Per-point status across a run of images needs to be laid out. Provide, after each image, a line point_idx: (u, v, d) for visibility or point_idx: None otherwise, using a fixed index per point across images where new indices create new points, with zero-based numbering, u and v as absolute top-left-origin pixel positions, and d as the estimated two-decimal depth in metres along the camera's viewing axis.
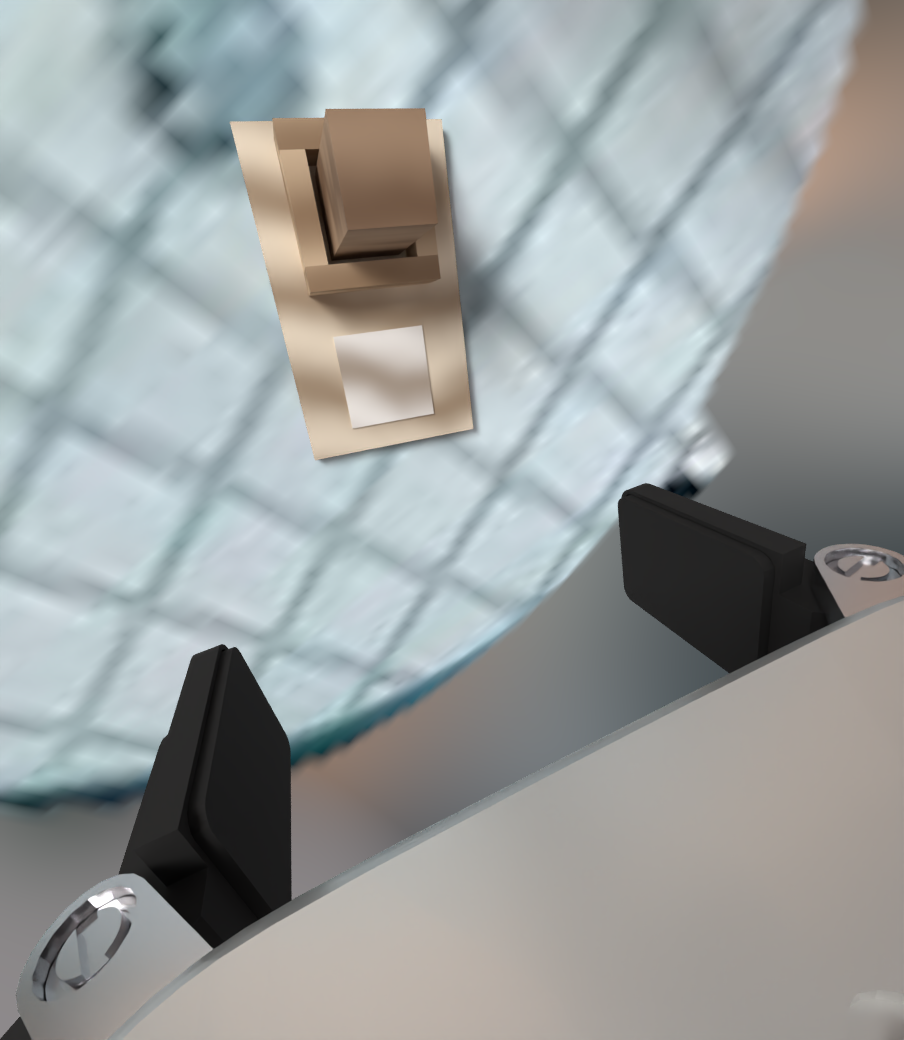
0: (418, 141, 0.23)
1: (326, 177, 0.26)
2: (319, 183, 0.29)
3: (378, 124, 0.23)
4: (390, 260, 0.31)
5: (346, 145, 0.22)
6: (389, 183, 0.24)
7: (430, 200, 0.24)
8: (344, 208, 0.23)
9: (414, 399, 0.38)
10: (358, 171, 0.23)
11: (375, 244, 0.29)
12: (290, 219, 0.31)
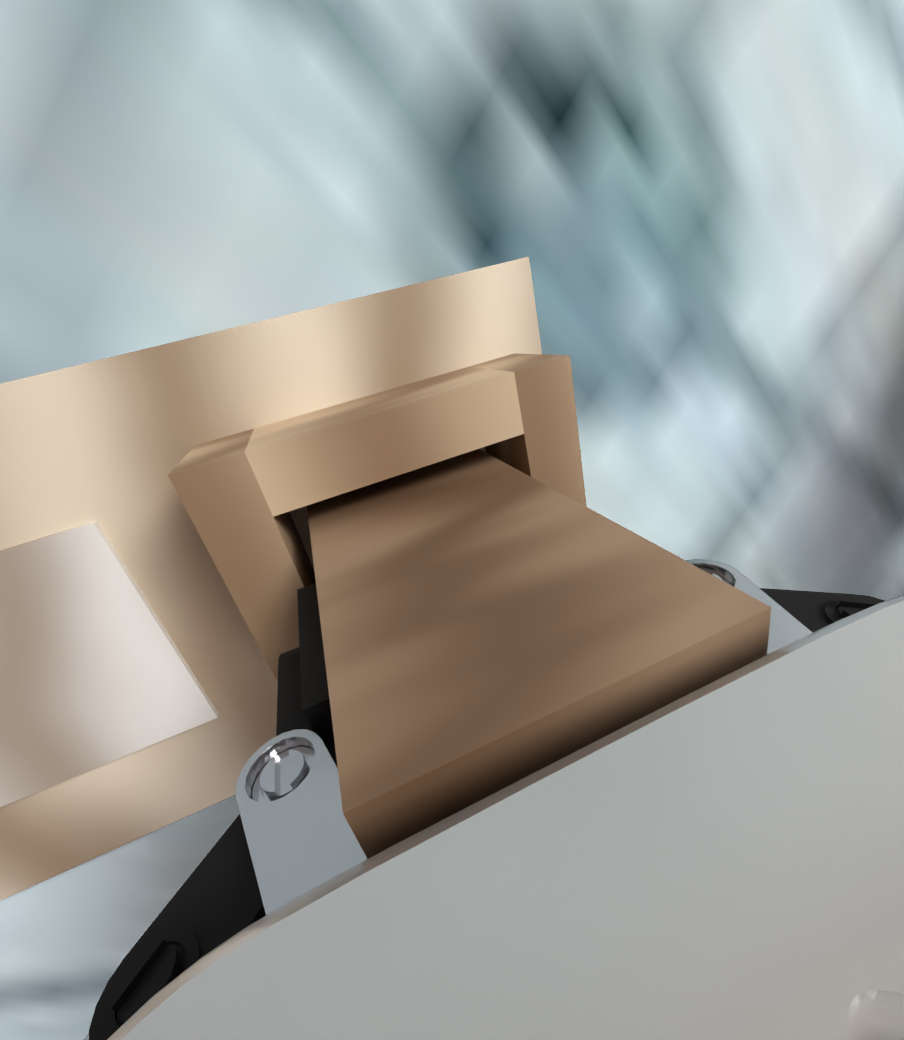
0: None
1: (494, 522, 0.09)
2: (460, 464, 0.12)
3: None
4: None
5: None
6: None
7: None
8: (441, 765, 0.04)
9: None
10: None
11: None
12: (371, 391, 0.13)
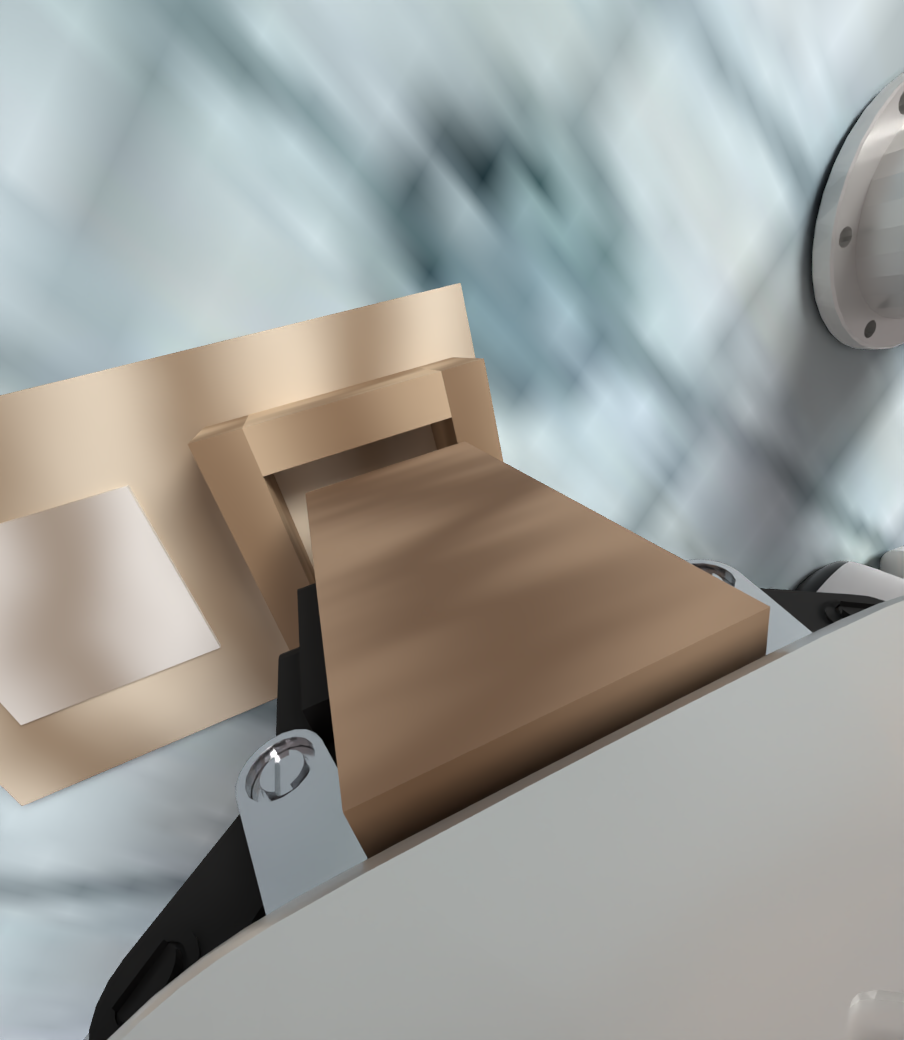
0: None
1: (493, 522, 0.09)
2: (459, 464, 0.12)
3: None
4: None
5: None
6: None
7: None
8: (441, 764, 0.04)
9: (40, 678, 0.16)
10: None
11: None
12: (339, 386, 0.16)
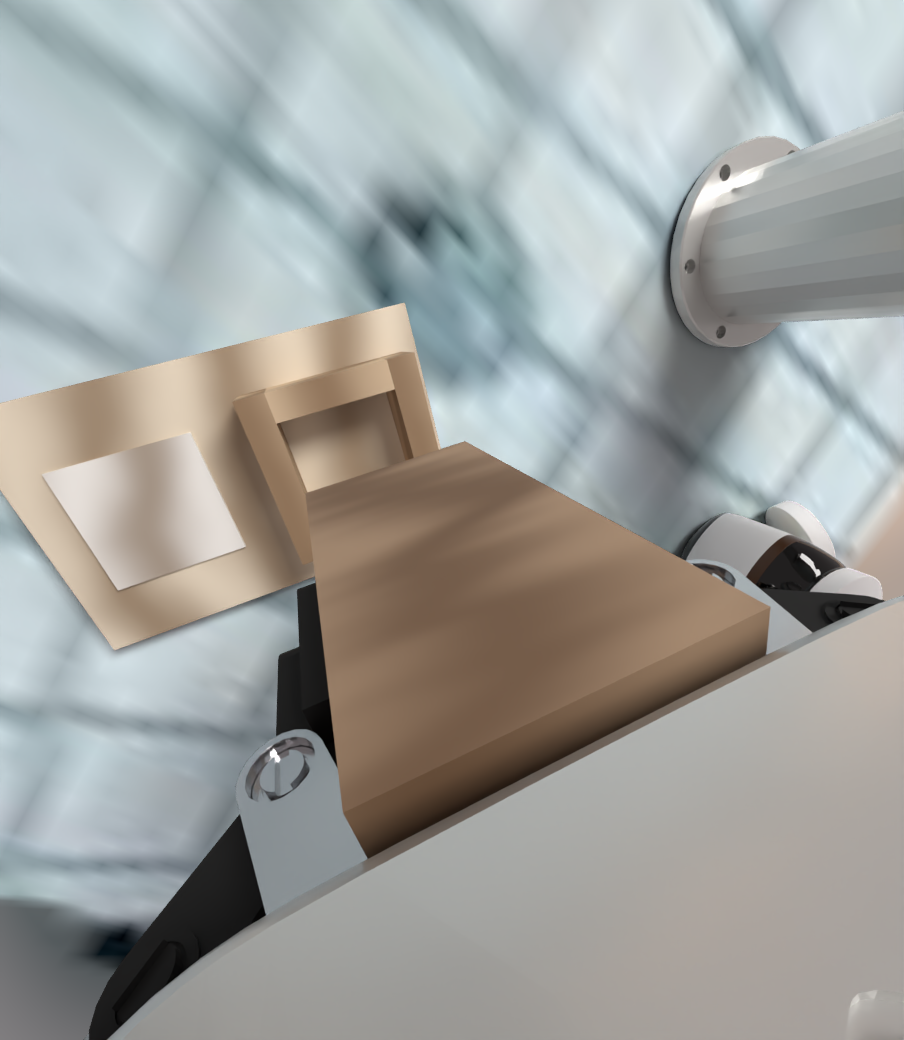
0: None
1: (493, 522, 0.09)
2: (459, 464, 0.12)
3: None
4: (305, 501, 0.24)
5: None
6: None
7: None
8: (441, 764, 0.04)
9: (131, 558, 0.25)
10: None
11: None
12: (325, 370, 0.25)
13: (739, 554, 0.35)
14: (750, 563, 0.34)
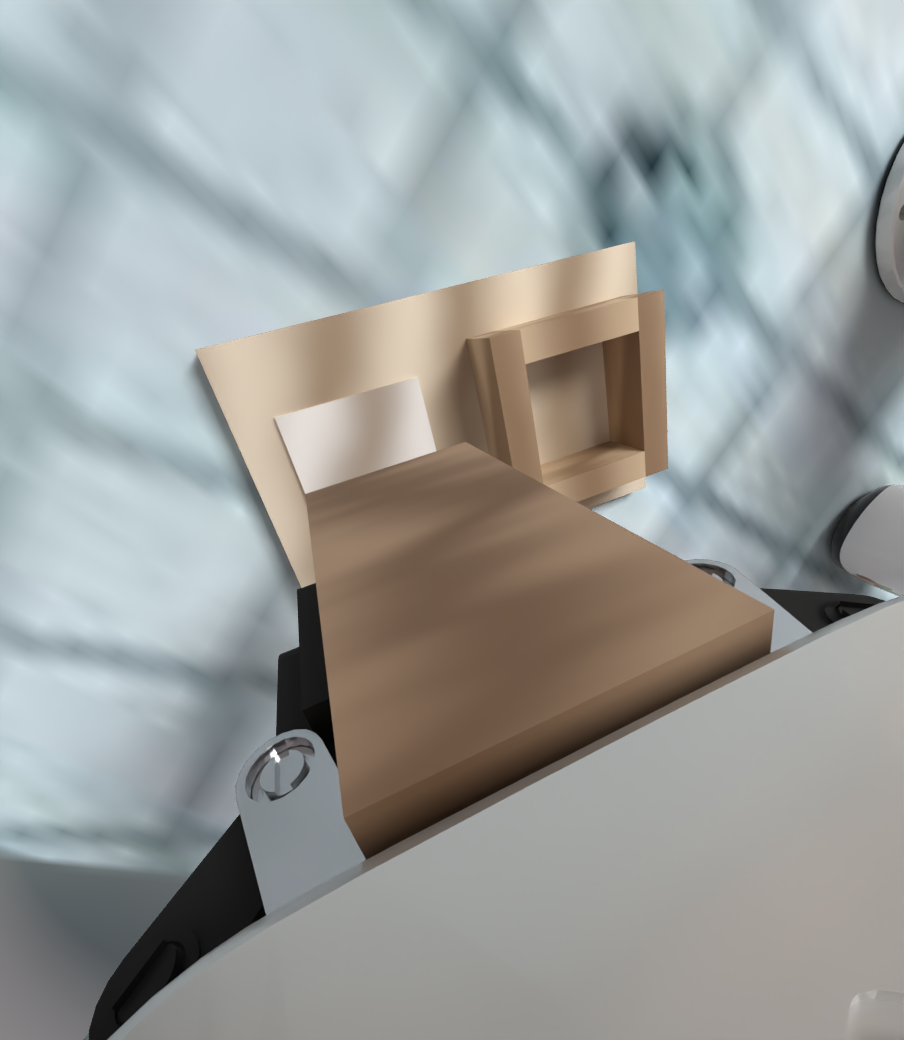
0: None
1: (494, 523, 0.09)
2: (460, 464, 0.12)
3: None
4: (536, 451, 0.22)
5: None
6: None
7: None
8: (442, 769, 0.04)
9: None
10: None
11: None
12: (550, 313, 0.23)
13: None
14: None
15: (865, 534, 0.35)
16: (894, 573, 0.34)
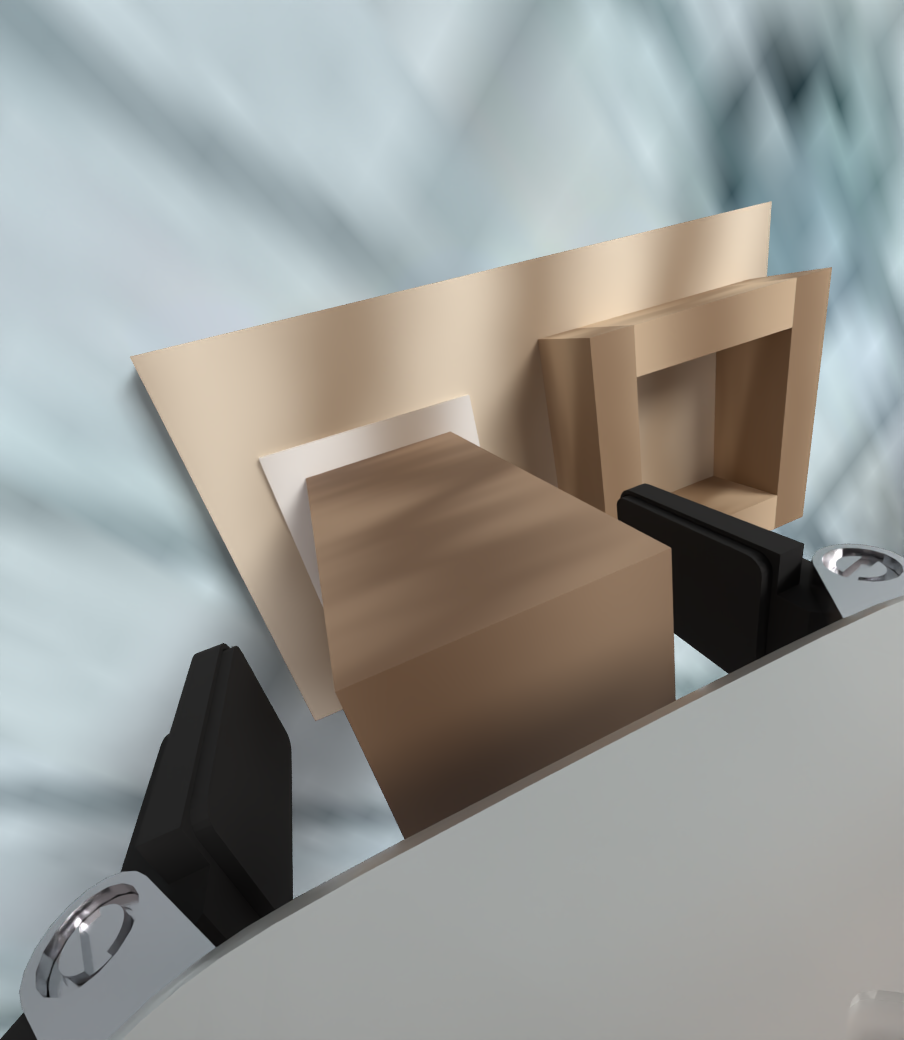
0: None
1: (467, 496, 0.10)
2: (444, 450, 0.13)
3: (643, 688, 0.07)
4: None
5: (592, 624, 0.07)
6: (512, 760, 0.07)
7: None
8: (409, 660, 0.06)
9: None
10: (529, 671, 0.06)
11: None
12: (653, 303, 0.16)
13: None
14: None
15: None
16: None
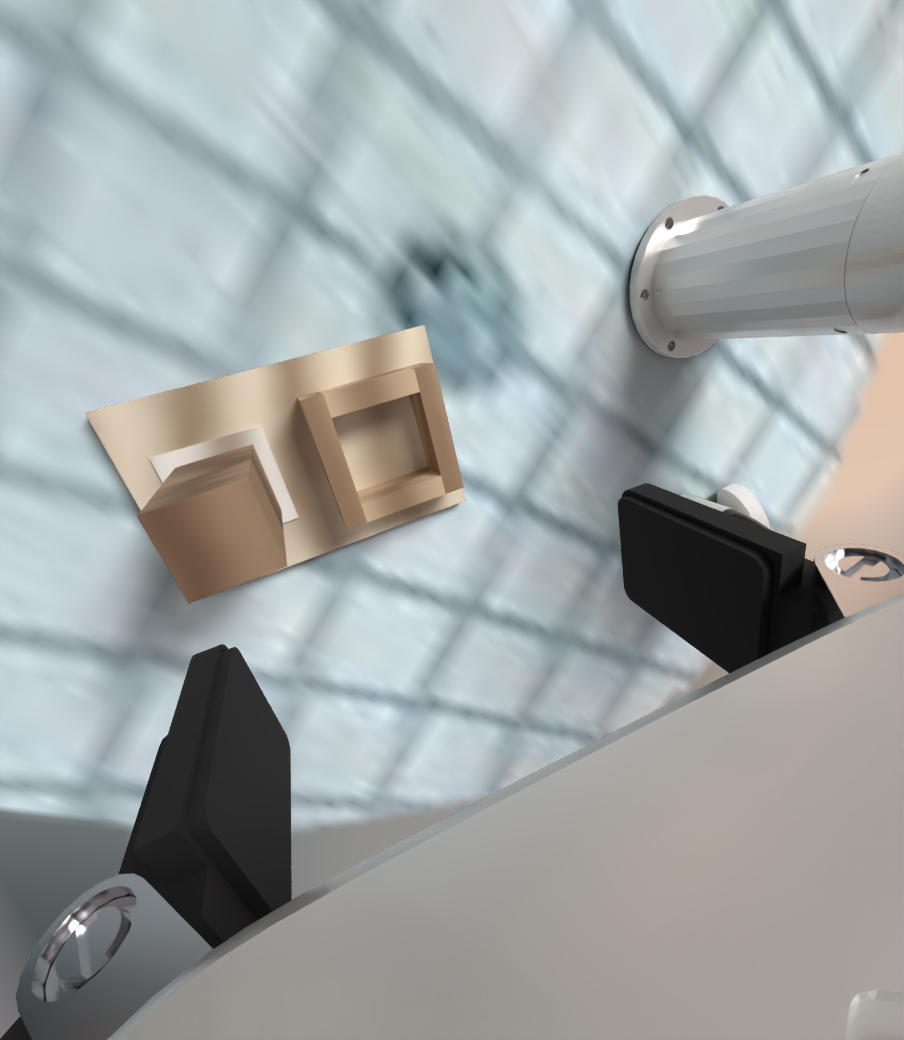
0: (257, 566, 0.23)
1: (221, 470, 0.25)
2: (238, 453, 0.29)
3: (256, 529, 0.23)
4: (350, 478, 0.31)
5: (224, 503, 0.22)
6: (206, 549, 0.22)
7: (208, 590, 0.23)
8: (159, 509, 0.21)
9: None
10: (204, 517, 0.22)
11: None
12: (363, 377, 0.32)
13: None
14: None
15: None
16: None
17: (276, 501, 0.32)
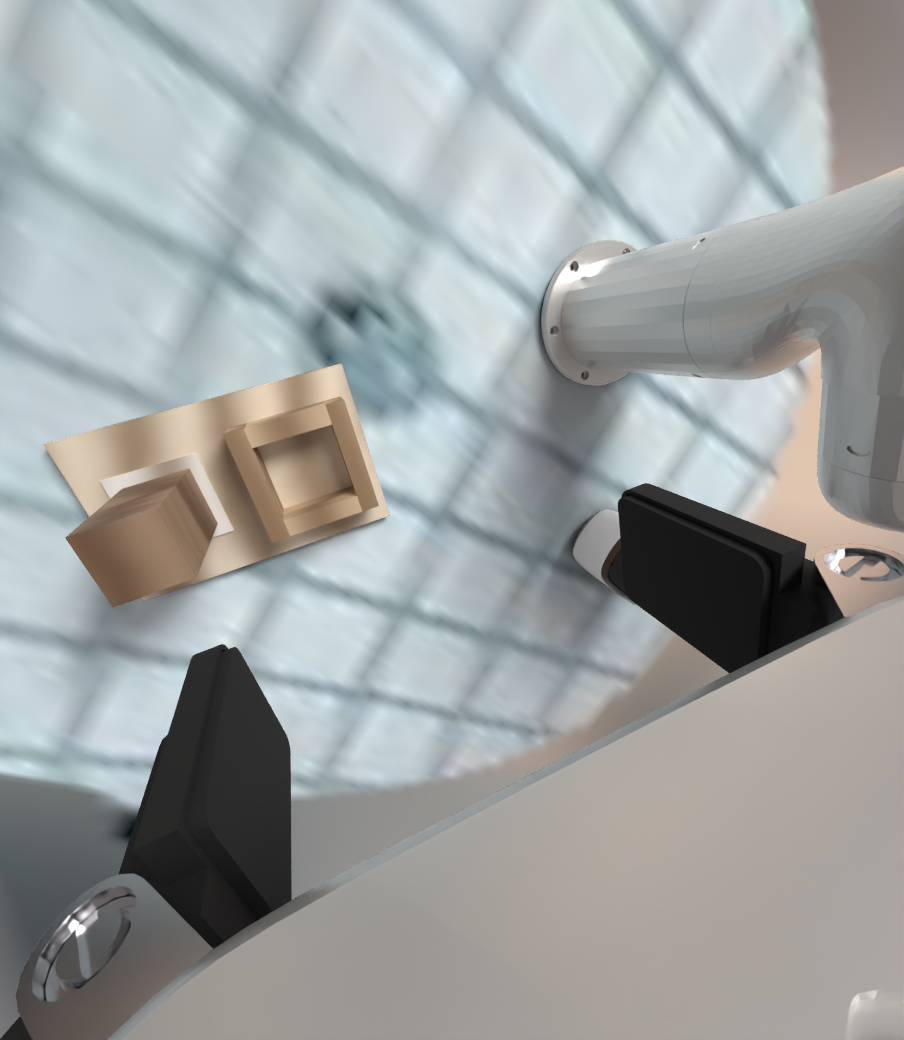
0: (170, 578, 0.28)
1: (148, 496, 0.30)
2: (172, 478, 0.34)
3: (166, 547, 0.28)
4: (272, 499, 0.36)
5: (138, 527, 0.27)
6: (125, 563, 0.27)
7: (129, 597, 0.28)
8: (84, 532, 0.26)
9: None
10: (121, 538, 0.27)
11: None
12: (287, 410, 0.37)
13: (605, 539, 0.46)
14: (610, 546, 0.45)
15: (580, 545, 0.49)
16: (595, 574, 0.48)
17: (211, 517, 0.37)
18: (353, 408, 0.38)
